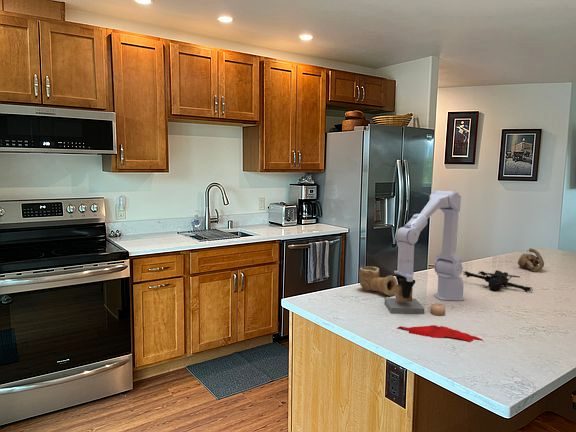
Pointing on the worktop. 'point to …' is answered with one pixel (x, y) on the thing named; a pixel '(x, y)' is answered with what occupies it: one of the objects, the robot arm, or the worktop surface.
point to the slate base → (404, 306)
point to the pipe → (377, 281)
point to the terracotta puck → (437, 309)
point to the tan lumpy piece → (531, 261)
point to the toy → (497, 280)
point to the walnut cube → (399, 294)
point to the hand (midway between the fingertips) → (404, 295)
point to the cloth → (439, 332)
